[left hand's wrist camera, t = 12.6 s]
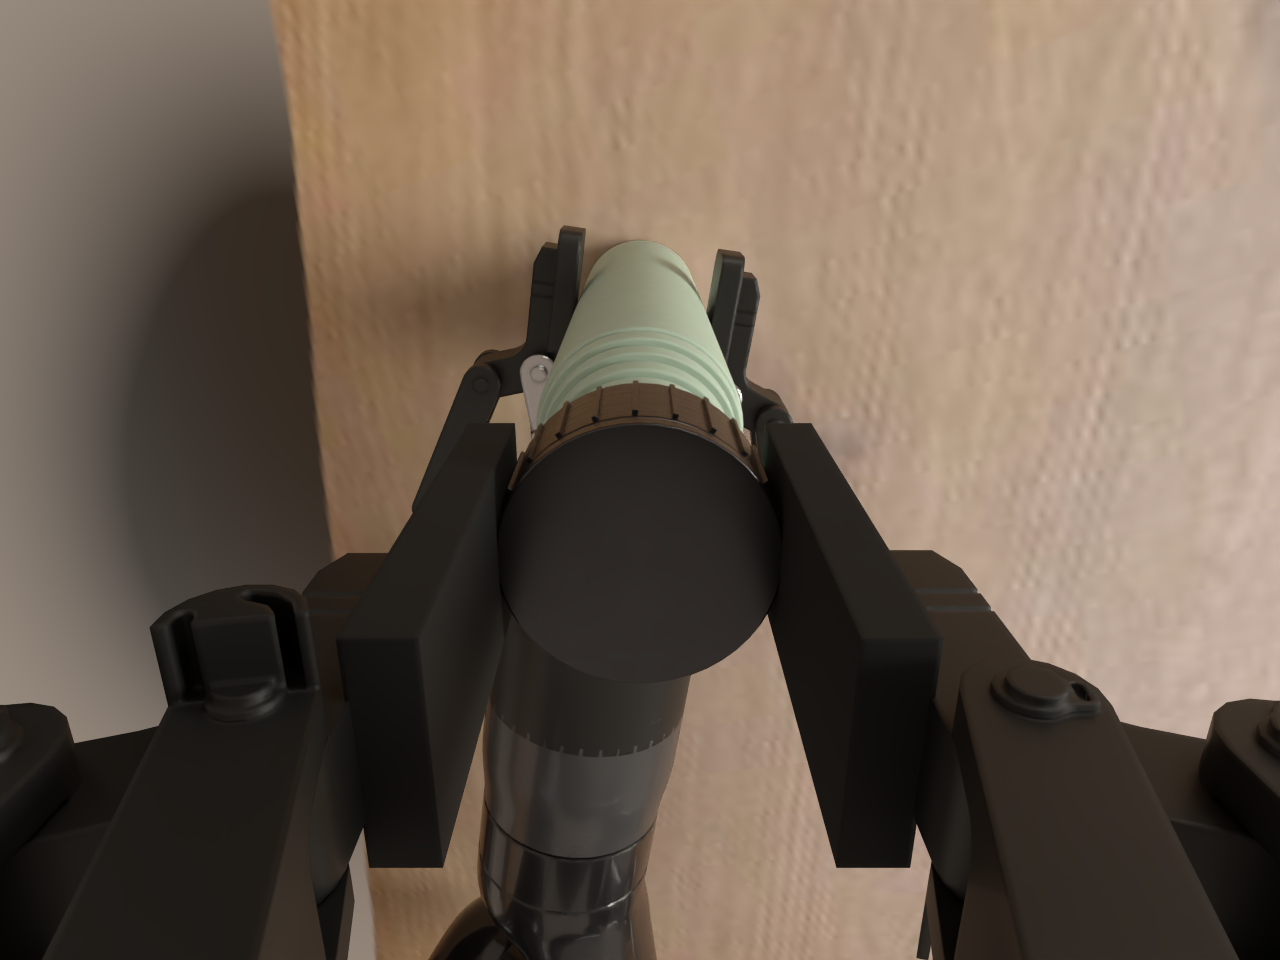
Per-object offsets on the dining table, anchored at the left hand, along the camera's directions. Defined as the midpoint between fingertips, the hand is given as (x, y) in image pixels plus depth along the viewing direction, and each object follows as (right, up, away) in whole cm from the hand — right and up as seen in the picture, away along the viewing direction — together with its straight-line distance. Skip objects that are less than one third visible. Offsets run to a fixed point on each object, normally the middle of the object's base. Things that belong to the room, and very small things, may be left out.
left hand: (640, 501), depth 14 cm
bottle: (0, +8, +20) cm, 21 cm away
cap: (0, -1, -2) cm, 2 cm away
